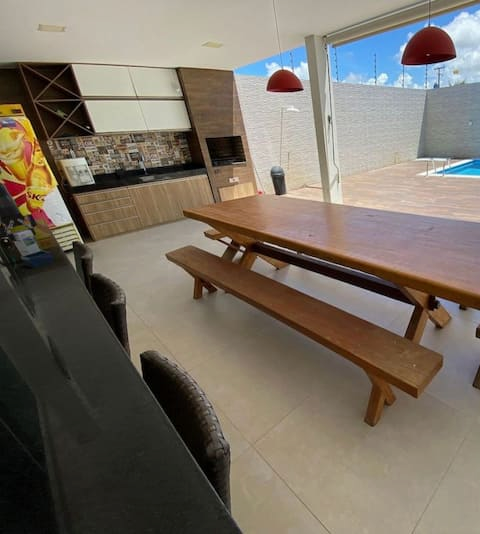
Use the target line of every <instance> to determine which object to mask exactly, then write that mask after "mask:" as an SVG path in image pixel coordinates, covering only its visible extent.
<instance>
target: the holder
mask: <svg viewBox="0 0 480 534" xmlns="http://www.w3.org/2000/svg"><path fill="white" fill-rule="evenodd" d="M20 258H21V260H22V262H23V263H24V265H25V267H29V268H33V269H35V268H38V267H41V266H44V265H47V264H49V263H52V262H55V258H54V256H53V254H52V253H51V251H47V250H43V251H39V252H35V253H32V254H29V255H25V256H22V255H21V256H20Z"/></svg>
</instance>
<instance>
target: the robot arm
mask: <svg viewBox="0 0 480 534" xmlns="http://www.w3.org/2000/svg"><path fill="white" fill-rule="evenodd" d="M1 175H2V169H1V167H0V176H1ZM25 219H26V220H28V221H29V223H30V224H29V223H28V222H26V221H25ZM2 225H5V226H4V230H3V228H2ZM20 226H23V227H26V228H27V230H31V231H32V233H33V235H34V237H36V235H37V232H36V230H35V229H34V228H35V227H37V226H38V224H37V222H36V220H35V217H34V216H33V214H30V213H29V214H28V213H27V214H25V215H24V214H22V211H21V210H20V208H19V207H18V204H17V202H16V201H15V200H14V198H13V197H12V195H11V194H10V192H9V190H8V189H7V187H6V185H5V184H4V183H3V182H0V235H6V237H7V239H8V240H9V241H11V242H13V243H14V241H16V240H15V239H14V237H13V235H12V234H11V232H12V230H13V228H17V227H20Z"/></svg>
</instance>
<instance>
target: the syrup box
mask: <svg viewBox="0 0 480 534" xmlns="http://www.w3.org/2000/svg"><path fill="white" fill-rule="evenodd" d="M11 234H12V235H13V237H14V239H15V240H16V241H14V242H13V243H14V245H15V247H16V248H17V250H18V252H19V253H20V254H21V257H22V256H25V255H29V254H32V253H35V252H39V251H44V250H43V249H42V246H41V245H40V244H39V242H38V240H37V238H36V236H34V235H33V233H32V231H31V230H28V229H21V230H19V231H15V232H12V233H11Z"/></svg>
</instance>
